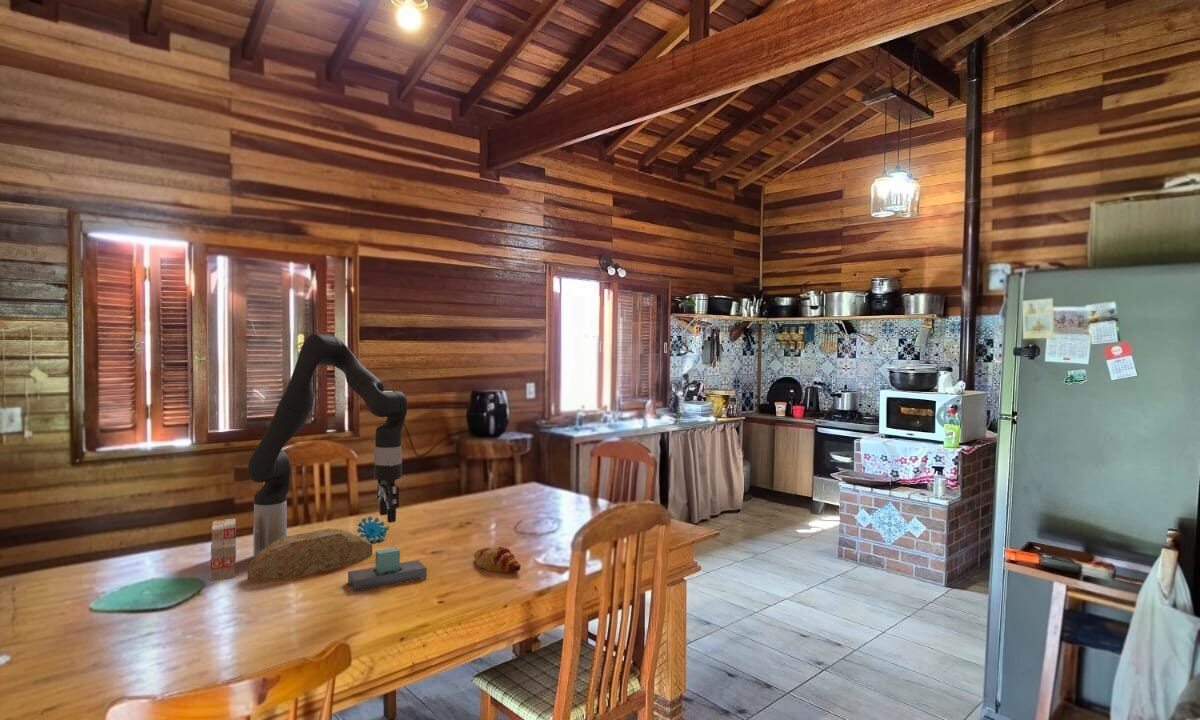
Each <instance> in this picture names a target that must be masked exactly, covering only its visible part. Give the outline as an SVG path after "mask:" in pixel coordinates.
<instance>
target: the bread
mask: <svg viewBox="0 0 1200 720" xmlns="http://www.w3.org/2000/svg"><path fill="white" fill-rule="evenodd" d="M369 556H370V557H371V556H373V543H371V542H370V540H369V541H368V540H367V539H366V537H360V535H357V534H355V533H352V532H351V531H347V530H344V529H341V528H324V529H318V530H313V531H309V532H308V531H307V532H302V533H298V534H294V535H287V537H282V538H280V539H278V540H277V541H275V542H273V543H272V544H270V545H268V546H267V547H265V548H264V549H262V550H261V551H259V552H258V553H257V554H256V555H255V557H254V556H253V557H252V559H251V560H250V563H249V565H248V566H247V567H248V568H247V581H248V582H249V583H250V582H251V583H252V584H262V583H263V582H264V583H270V582H271V581H272V582H277V581H278V582H280V581H279V580H281V581H287V580H290V579H289V578H291V579H294V577H295V578H298V576H300V577H304V576H308V575H313V574H316V573H319V572H320V571H321V572H324V570H325V571H329V570H333V569H337V568H340V567H339V566H341V567H344V566H343V565H346V566H349V565H348V564H350V565H352V564H351V563H353V564H355V563H358V562H361V561H363V559H364V560H366V559H367V557H368V558H369ZM365 558H366V559H365ZM360 560H361V561H360ZM357 561H358V562H357ZM354 562H355V563H354ZM336 567H337V568H336ZM332 568H333V569H332ZM328 569H329V570H328ZM303 575H304V576H303ZM286 579H287V580H286ZM272 582H271V583H272ZM251 583H250V584H251Z"/></svg>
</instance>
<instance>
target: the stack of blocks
mask: <svg viewBox="0 0 1200 720" xmlns="http://www.w3.org/2000/svg"><path fill="white" fill-rule="evenodd" d="M236 521H237V519H236V518H227V519H219V520H213V521H212V526H211V543H210V581H216V580H222V579H223V578H224V579H230V578H231V577H232V578H235V577H236V576H235V575H236V562H235V561H236V560H237V542H236V540H237V539H236V538H237V532H236V531H237V529H236V526H237V524H236V523H237V522H236ZM232 578H231V579H232Z"/></svg>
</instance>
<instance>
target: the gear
mask: <svg viewBox="0 0 1200 720" xmlns="http://www.w3.org/2000/svg"><path fill="white" fill-rule="evenodd" d="M367 520H368V522H367ZM372 520H373V516H368V518H362V519H361V521H360V522H358V524H357V526H358V528H357V531H356V532H357V533H361V534H360V535H359V536H360V537H363V538H365V539H367V540H368V541H369V542H370V540H371V539H372V541H371V542H372V543H371V544H376V543H377V540H378V542H382V541H383V540H384V538H385V537H386V536H387V532H388V531H389V529H390V526H389V525H387V526H384V525H385V522H384V521H381V522H379V520H380V519H379V517H375V519H374V520H373V521H372ZM363 524H364V525H363ZM383 526H384V527H383ZM381 536H382V537H381ZM377 538H378V539H377Z"/></svg>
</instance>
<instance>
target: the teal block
mask: <svg viewBox="0 0 1200 720" xmlns="http://www.w3.org/2000/svg"><path fill="white" fill-rule="evenodd" d="M400 563H401V550H400V549H399V548H398V547H392V548H385V549H379V550H378V549H377V550H375V567H376V574H377V575H378V574H384V573H385V572H389V571H391V572H395V571H399V570H400Z"/></svg>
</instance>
